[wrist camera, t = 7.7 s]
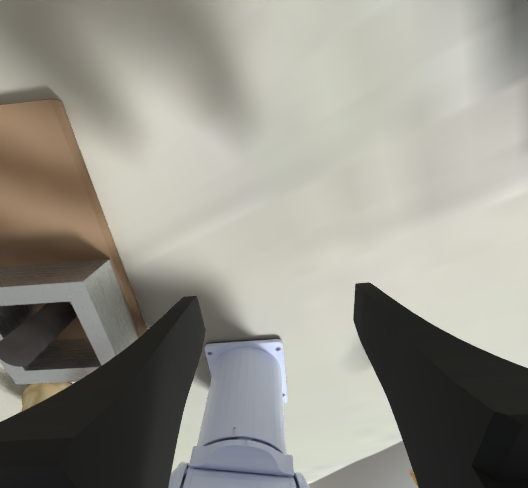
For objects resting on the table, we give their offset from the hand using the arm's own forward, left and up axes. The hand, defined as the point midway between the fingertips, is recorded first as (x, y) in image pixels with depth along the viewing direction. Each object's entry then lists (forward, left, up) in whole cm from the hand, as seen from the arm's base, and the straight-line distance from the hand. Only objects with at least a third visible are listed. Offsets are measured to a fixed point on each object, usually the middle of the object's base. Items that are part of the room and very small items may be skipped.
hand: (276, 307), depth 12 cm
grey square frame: (-6, +19, -9) cm, 22 cm away
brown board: (-1, +20, -10) cm, 23 cm away
